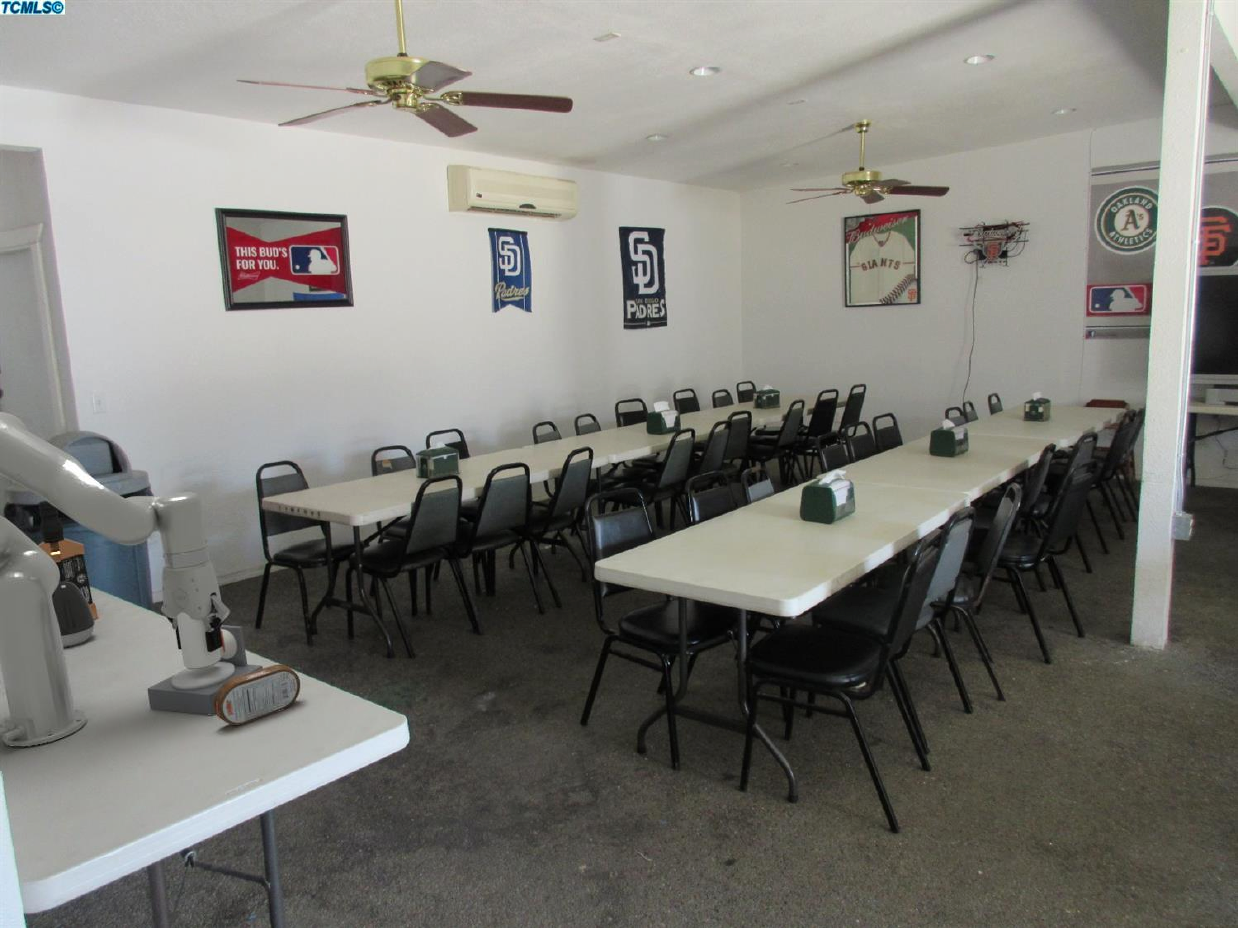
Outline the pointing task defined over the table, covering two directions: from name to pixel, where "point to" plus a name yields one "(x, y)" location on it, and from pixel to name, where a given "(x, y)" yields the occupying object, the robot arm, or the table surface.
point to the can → (195, 643)
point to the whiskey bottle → (64, 552)
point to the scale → (203, 678)
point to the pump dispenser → (72, 614)
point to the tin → (256, 694)
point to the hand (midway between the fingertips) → (200, 647)
